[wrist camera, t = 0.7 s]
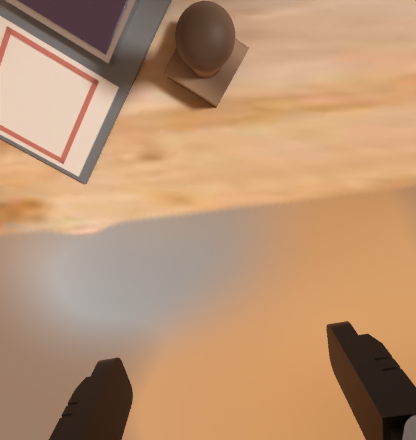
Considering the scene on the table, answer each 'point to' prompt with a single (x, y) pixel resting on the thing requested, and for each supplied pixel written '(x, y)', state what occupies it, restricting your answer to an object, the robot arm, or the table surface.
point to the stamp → (205, 51)
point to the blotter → (66, 87)
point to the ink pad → (85, 22)
